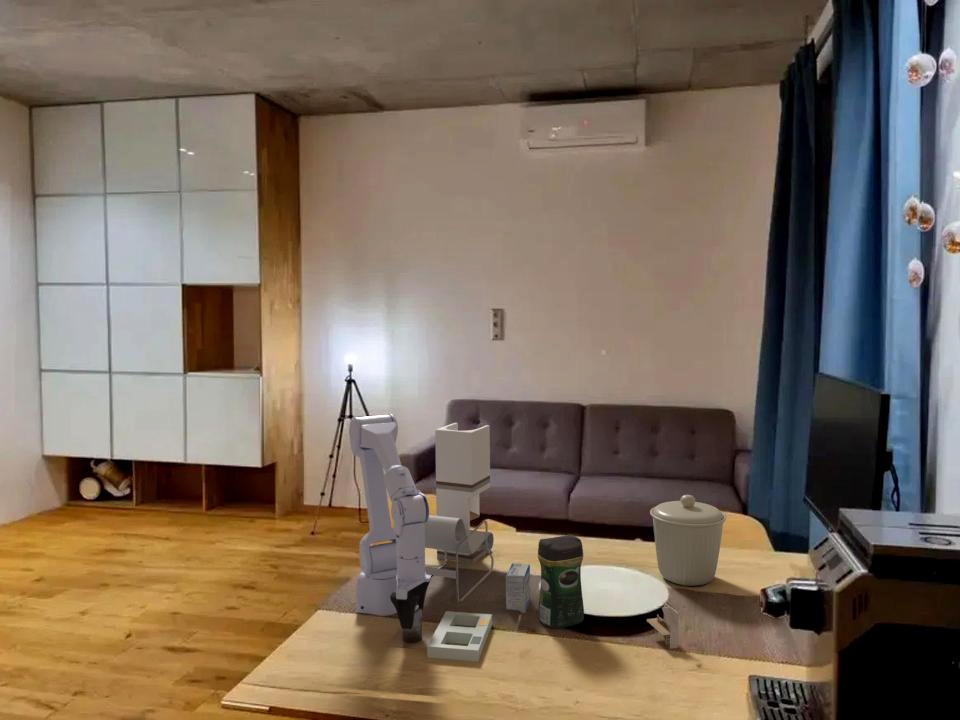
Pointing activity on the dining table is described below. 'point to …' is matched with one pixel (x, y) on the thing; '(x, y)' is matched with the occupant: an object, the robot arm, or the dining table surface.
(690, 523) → the canister
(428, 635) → the brown square tile
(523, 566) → the medicine box
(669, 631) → the architectural model
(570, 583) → the coffee jar
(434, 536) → the chair
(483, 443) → the tall white box
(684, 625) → the dining table surface
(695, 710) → the dining table surface
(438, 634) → the port box
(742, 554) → the dining table surface
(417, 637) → the plug
